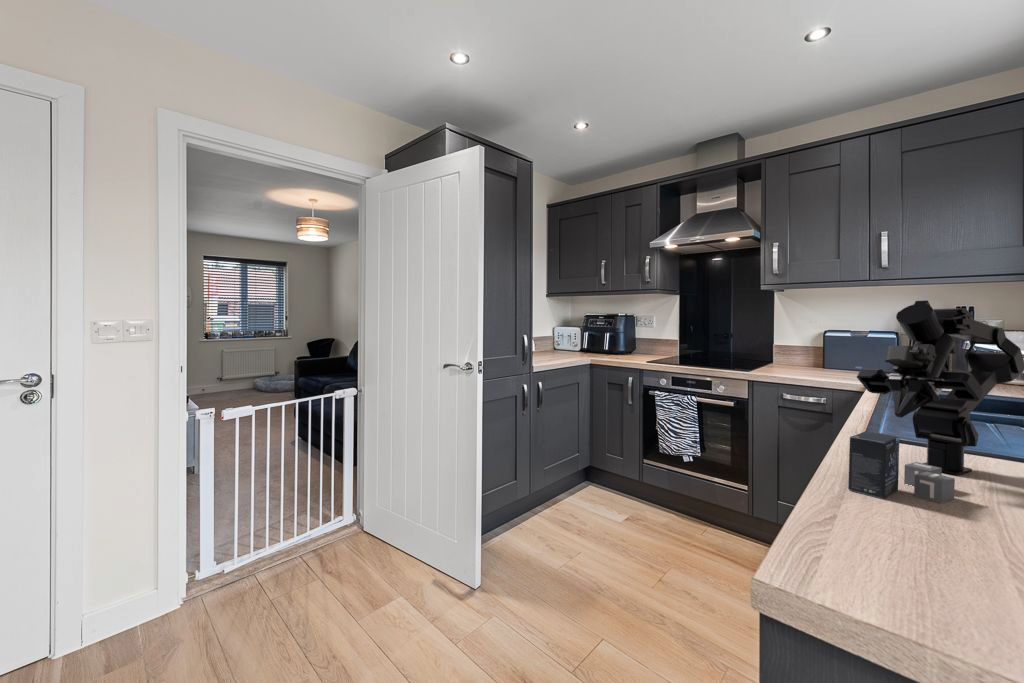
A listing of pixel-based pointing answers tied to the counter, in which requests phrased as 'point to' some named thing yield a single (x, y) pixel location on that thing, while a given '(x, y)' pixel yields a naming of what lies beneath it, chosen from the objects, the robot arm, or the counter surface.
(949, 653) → the counter surface
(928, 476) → the marked cube seven
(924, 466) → the marked cube one
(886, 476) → the box
